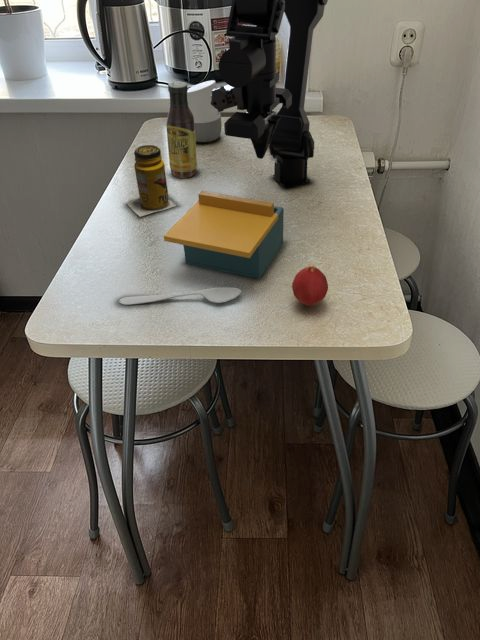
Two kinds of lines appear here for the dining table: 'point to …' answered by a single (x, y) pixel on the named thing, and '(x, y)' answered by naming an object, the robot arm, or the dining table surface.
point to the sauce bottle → (181, 132)
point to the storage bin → (237, 263)
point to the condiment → (150, 182)
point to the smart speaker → (204, 112)
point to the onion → (310, 286)
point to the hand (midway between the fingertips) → (260, 157)
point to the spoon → (210, 294)
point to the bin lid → (224, 224)
